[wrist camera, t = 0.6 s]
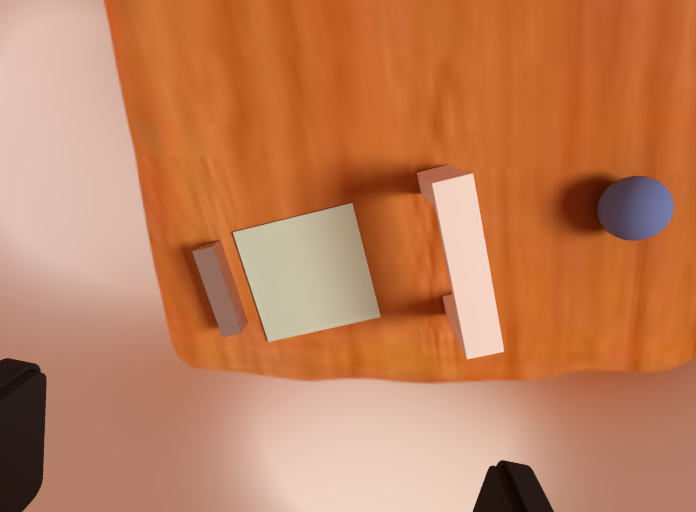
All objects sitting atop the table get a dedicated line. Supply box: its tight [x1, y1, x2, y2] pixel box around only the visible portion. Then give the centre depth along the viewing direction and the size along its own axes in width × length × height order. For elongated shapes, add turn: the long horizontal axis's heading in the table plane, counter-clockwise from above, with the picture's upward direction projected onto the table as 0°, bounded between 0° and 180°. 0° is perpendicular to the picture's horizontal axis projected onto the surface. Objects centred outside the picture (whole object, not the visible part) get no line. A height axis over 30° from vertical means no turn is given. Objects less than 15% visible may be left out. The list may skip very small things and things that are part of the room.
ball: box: [597, 176, 674, 240], centre depth 39 cm, size 6×6×6 cm
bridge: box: [417, 165, 504, 359], centre depth 38 cm, size 3×15×9 cm, turn 14°
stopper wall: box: [192, 241, 248, 337], centre depth 43 cm, size 9×2×2 cm, turn 14°
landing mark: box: [233, 203, 381, 342], centre depth 44 cm, size 12×12×1 cm
